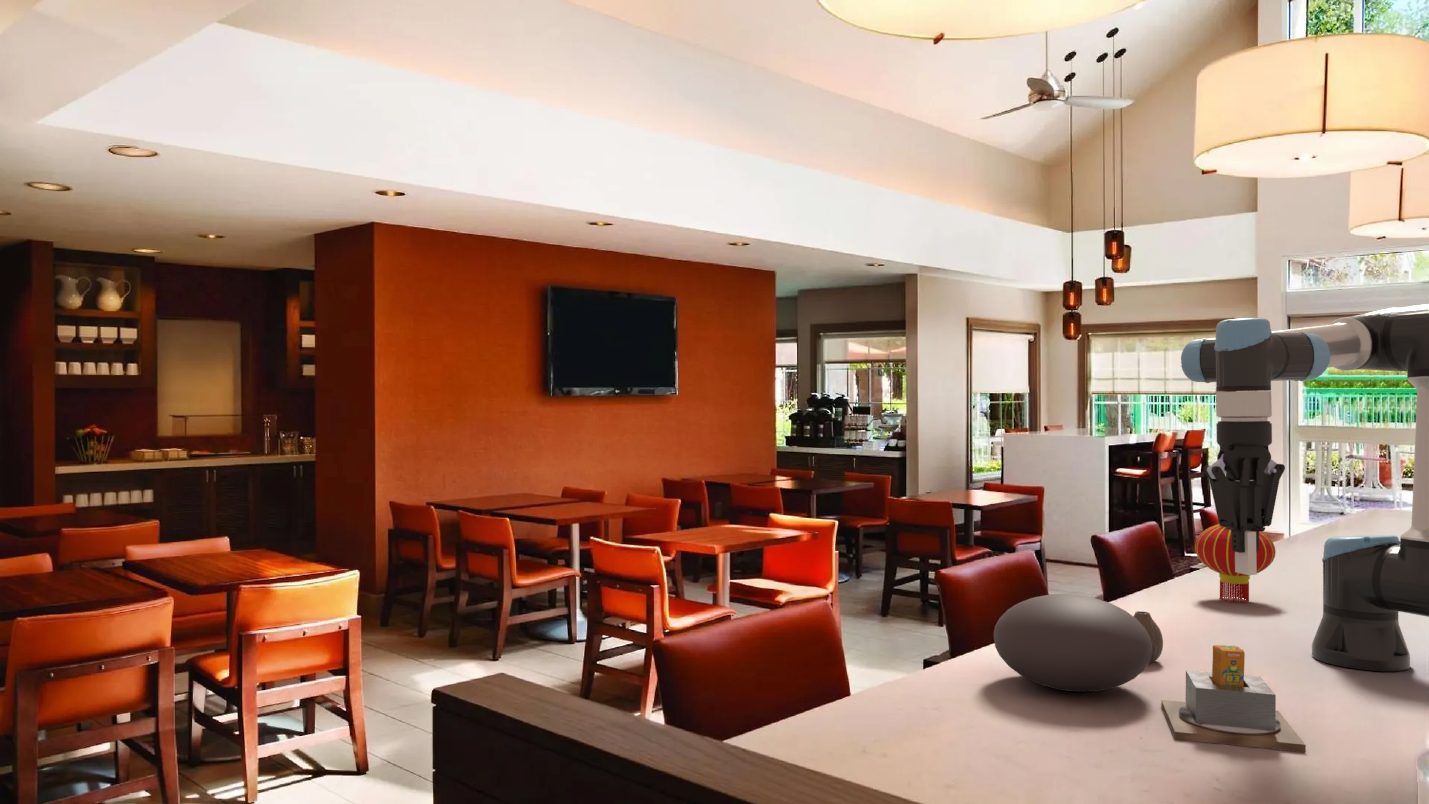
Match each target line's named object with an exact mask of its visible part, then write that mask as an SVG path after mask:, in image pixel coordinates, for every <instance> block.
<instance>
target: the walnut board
mask: <svg viewBox="0 0 1429 804" xmlns="http://www.w3.org/2000/svg"><path fill="white" fill-rule="evenodd" d="M1160 702H1161V704H1160V705H1161V709H1162V712H1163V714H1164V716H1165V718H1166V721H1167V723H1168V726H1169V728H1170V730H1171V731H1170V732H1171V734H1172V735H1173V738H1174V740H1184V741H1192V742H1199V743H1202V742H1203V743H1212V744H1222V745H1230V746H1231V745H1233V746H1240V747H1248V748H1249V747H1250V748H1259V749H1260V748H1261V749H1270V750H1281V751H1290V752H1299V753H1306V750H1307V749H1306V745H1307V744H1306V743H1305V742H1304V741H1303V739H1302V738H1301V737H1300V736H1299V735H1298V733H1297V732H1296V731H1295V729H1294V728H1293V727H1292V726H1291V725H1290V724H1289V722H1288V721H1287V720H1286V718H1285V717H1284V716H1283V714H1282V713H1281V712H1280V711H1279V710H1276V714H1275V718H1276V719H1277V720H1278V721H1279V722H1280V730H1279V731H1278V732H1276V733H1274V734H1269V735H1259V736H1248V735H1235V734H1227V733H1221V732H1216V731H1211V730H1207V729H1203V728H1200V727H1197V726H1194V725H1191V724H1189V723H1187V722H1185V721H1184V720H1182V719H1181V718H1180V717H1179V709H1180V708H1181V707H1182V706H1185V705H1186V701H1176V700H1165V699H1161V701H1160Z"/></svg>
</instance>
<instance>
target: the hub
mask: <svg viewBox="0 0 1429 804" xmlns="http://www.w3.org/2000/svg"><path fill="white" fill-rule="evenodd" d="M1276 697H1277V696H1276V693H1275V692H1274V691H1273V690H1272V689H1271V687H1270V686H1269V685H1268V683H1266V681H1265V680H1264V679H1263V678H1262V677H1261V676H1260V675H1249V674H1244V687H1237V686H1225V685H1214V684H1213V683H1212V671H1202V670H1201V671H1200V670H1199V671H1198V670H1189V669H1188V670H1185V702H1186V705H1185V706H1182V707H1181V708H1180V709H1179V717H1180V718H1181V719H1182V720H1184V721H1185V722H1187V723H1189V724H1191V725H1194V726H1197V727H1200V728H1203V729H1207V730H1211V731H1216V732H1221V733H1227V734H1235V735H1248V736H1259V735H1269V734H1274V733H1276V732H1278V731H1279V730H1280V722H1279V721H1278V720H1277V719H1276V718H1275V714H1276V711H1277V710H1276V709H1277V708H1276V706H1277V705H1276V702H1277V701H1276V699H1277V698H1276Z"/></svg>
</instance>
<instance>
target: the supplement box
mask: <svg viewBox="0 0 1429 804" xmlns="http://www.w3.org/2000/svg"><path fill="white" fill-rule="evenodd" d="M1245 653H1246V652H1245V651H1244V650H1243V649H1241V648H1240V647H1238V646H1237V645H1224V644H1223V645H1222V644H1221V645H1220V644H1214V645H1212V665H1211V666H1212V669H1211V670H1212V671H1211V672H1212V683H1213V684H1214V685H1225V686H1237V687H1244V675H1245V657H1246V656H1245Z"/></svg>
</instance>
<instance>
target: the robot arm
mask: <svg viewBox="0 0 1429 804" xmlns="http://www.w3.org/2000/svg"><path fill="white" fill-rule="evenodd" d="M1180 361H1181V362H1180V364H1181V365H1180V366H1181V369H1182V371H1183V374H1184V375H1185V377H1187V378H1188V379H1189V380H1190V381H1192V382H1196V383H1206V384H1210V383H1216V387H1215V391H1216V392H1215V400H1216V401H1215V404H1216V405H1215V406H1216V407H1215V408H1216V409H1215V410H1216V412H1215V413H1216V417H1217V418H1220V420H1219V421H1217V423H1216V425H1215V426H1216V443H1217V444H1218V445H1219V451H1218V453H1217V458H1216V459H1217V460H1216V461H1215V462H1214V463H1212V464H1211V465H1204V467H1203V472H1204V474H1205V476H1206V477H1207V479H1208V481H1209V484H1210V490H1211V493H1212V498H1213V501H1214V502H1213V503H1214V507H1215V511H1216V516H1217V520H1218V524H1220V526H1223V527H1226V528H1227V529H1230V530H1231V536H1232V550H1233V551H1234V552H1235V572H1237V573H1241V574H1246V575H1250V576H1253V575H1255V576H1256V575H1257V574H1258V573H1257V568H1256V552H1257V551H1259V531H1261V532H1263V533H1264V531H1266V527H1269V526H1271V525H1272V521H1273V517H1274V510H1275V506H1276V500H1277V495H1278V489H1279V485H1280V479H1281V478H1282V476H1283V474H1284V472H1285V470H1286V466H1285V465H1284V464H1283V463H1277V462H1276V461H1275V460H1273V459H1272V455H1271V452H1270V449H1269V446H1271V444H1272V443H1273V432H1272V431H1273V424H1272V422H1271V421H1269V420H1268V419H1269V418H1271V417H1272V413H1273V411H1272V409H1273V408H1272V407H1273V406H1272V382H1274V381H1275V382H1277V381H1295V382H1297V381H1298V382H1299V381H1300V382H1303V381H1306V380H1307V381H1308V380H1309V381H1310V380H1314V379H1317V378H1319V377H1321V376H1322V375H1323V374H1324V373H1325V371H1327V369H1328V368H1334V369H1336V370H1339V371H1355V370H1361V371H1362V370H1366V371H1367V370H1369V371H1385V372H1407V378H1406V379H1407V380H1406V381H1408V382H1409V383H1410V384H1411V385H1412V386H1413V387H1414V388H1415V389H1416V392H1417V393H1416V409H1415V411H1416V412H1415V433H1414V434H1415V436H1414V455H1413V456H1414V457H1413V462H1414V463H1413V478H1412V480H1413V481H1412V482H1413V483H1412V484H1413V485H1412V505H1411V506H1412V507H1411V527H1410V528H1409V529H1408V530H1406V531H1405V532H1404V533H1402V534H1401V535H1400V539H1399V537H1398V536H1397V535H1390V534H1389V535H1386V534H1385V535H1380V534H1379V535H1372V534H1371V535H1348V536H1347V535H1346V536H1344V535H1343V536H1342V535H1341V536H1332V537H1330V538H1328V539H1327V540H1326V541H1325V542H1324V545H1323V553H1322V554H1323V557H1322V558H1321V561H1322V575H1323V576H1322V584H1323V585H1322V590H1323V591H1322V604H1323V605H1322V608H1323V609H1322V617H1321V619H1320V622H1319V625H1318V628H1317V630H1316V633H1315V635H1314V637H1313V640H1312V643H1311V656H1312V657H1313V658H1314V659H1316V660H1318V661H1320V662H1323V663H1326V664H1330V665H1334V666H1338V667H1343V668H1349V669H1356V670H1364V671H1373V672H1374V671H1375V672H1401V671H1407V670H1409V669H1410V668H1411V655H1410V651H1409V649H1408V646H1407V645H1408V644H1407V643H1406V641H1405V637H1404V635H1403V632H1402V630H1401V627H1400V621H1399V613H1400V612H1401V613H1404V614H1411V615H1415V616H1420V617H1421V616H1422V617H1425V618H1426V617H1427V618H1429V303H1427V304H1426V303H1425V304H1418V305H1407V306H1406V305H1405V306H1395V307H1394V306H1393V307H1388V308H1383V309H1378V310H1374V311H1370V312H1367V313H1362V314H1358V315H1352V316H1347V317H1341V318H1340V317H1339V318H1337V319H1334V320H1332V321H1330V322H1329V323H1328V324H1326V325H1319V326H1318V325H1317V326H1308V327H1307V326H1306V327H1301V328H1300V327H1299V328H1291V329H1283V330H1281V329H1280V330H1272V329H1271V323H1270V321H1269V320H1268V319H1266V318H1262V317H1260V318H1259V317H1255V318H1254V317H1253V318H1252V317H1250V318H1233V319H1232V318H1231V319H1224V320H1221V321H1219V322H1218V323H1217V324H1216V327H1215V337H1203V338H1201V339H1194V340H1191V341H1189V342H1188V343H1187V344H1185V346H1184V348H1183V349H1182V351H1181V355H1180ZM1257 576H1258V575H1257Z"/></svg>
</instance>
